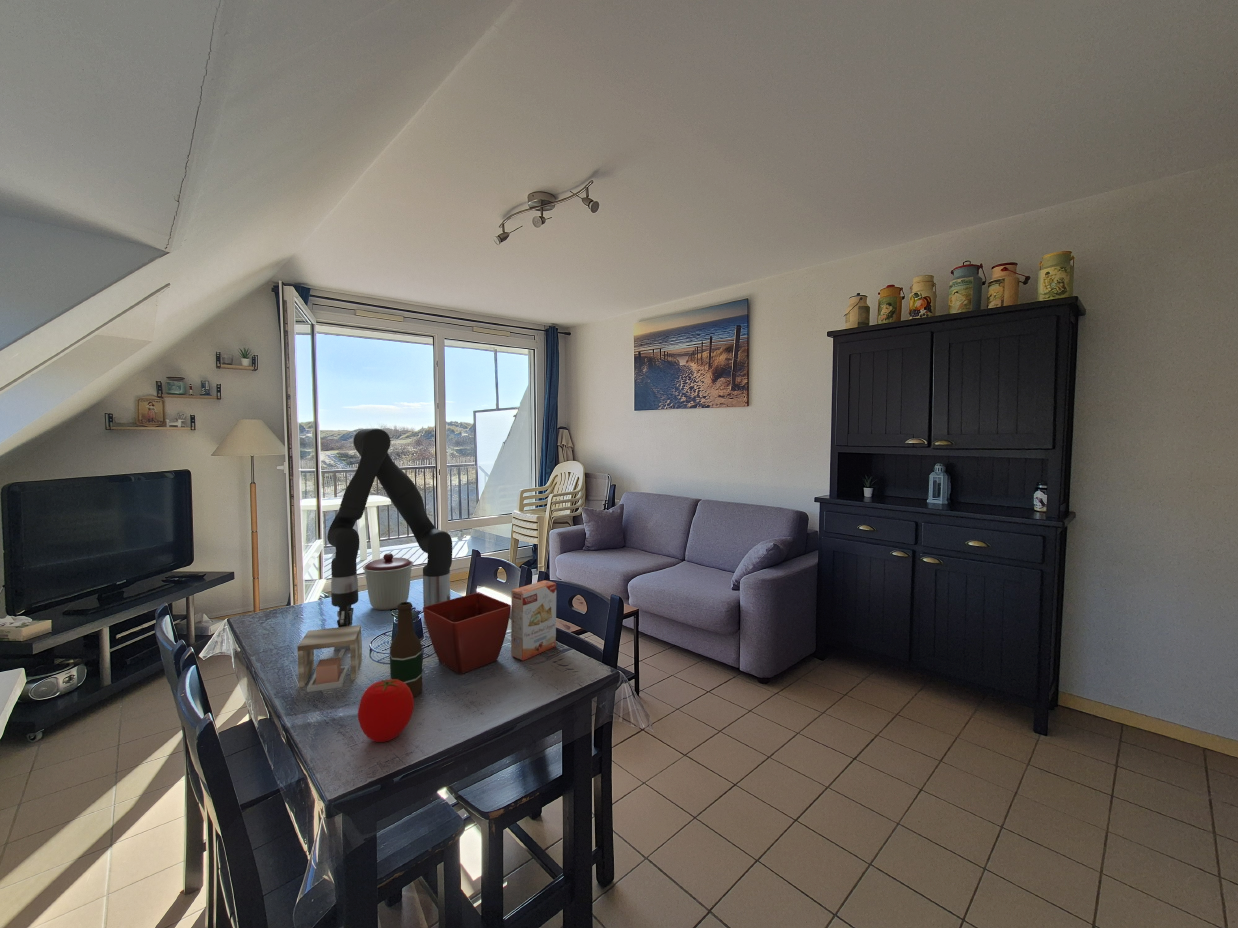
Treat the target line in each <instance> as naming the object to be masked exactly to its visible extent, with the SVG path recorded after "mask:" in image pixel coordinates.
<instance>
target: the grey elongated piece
mask: <svg viewBox="0 0 1238 928" xmlns="http://www.w3.org/2000/svg"><path fill="white" fill-rule="evenodd" d="M333 650H334V651H340V652H339V654H338V656H337V657H341V659H342V658H343V656H344V653H345V651H346V650H350V645H348V646H339V647H333ZM349 671H350V666H349V665H345V666H344V665H343V666H341V677H340V679H339V681H338V682H332V683H325V684H318V685H316V671H314V673H313V675H312V677H311V679H310V681H309V683H308V685H307V686H306V693H310V692H312V693H313V692H317V691H325V690H330V689H337V688H342V687H343V686H344V684H345V681H346V679H347V677H348V673H349Z"/></svg>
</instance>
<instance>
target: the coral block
mask: <svg viewBox="0 0 1238 928" xmlns="http://www.w3.org/2000/svg"><path fill="white" fill-rule="evenodd" d="M341 667H342V658H341V657H338V656H337V657H331V658H323V659H319V661H318V662H317V664H316V666H315V672H316V685H318V684H325V683H332V682H338V681H339V679H340V677H341Z"/></svg>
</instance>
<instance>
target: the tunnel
mask: <svg viewBox="0 0 1238 928" xmlns="http://www.w3.org/2000/svg"><path fill="white" fill-rule="evenodd" d="M362 643H363V642H362V625H361V624H355V625H351V626H346V627H338V626H337V627H329V628H319V629H313V630H307V632H306V633H305V635H304V637H302V639H301V640H300V642H299V643H298V645H297V646H296V647H297V671H298V673H297V674H298V675H297V676H298V688H302V687H303V688H304V687H305V686H306V684H307V682H308V680H309V679H310V677H311V675H312V673H313V671H314V669H315V650H322V649H331V648H334V647H339V646H348V645H350V649H349V653H350V654H349V655H350V659H349V661H350V680H355V679H357V677H358V674H359V672H360V668H361V666H362V663H363V647H362V646H363V644H362Z"/></svg>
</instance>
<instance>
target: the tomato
mask: <svg viewBox="0 0 1238 928" xmlns="http://www.w3.org/2000/svg"><path fill="white" fill-rule="evenodd" d="M414 700H415V699H414V697H413V695H412V692H411V690H410V688H409V687H408V686H407V685H406V684H405V683H404V682H402V681H400V680H397V679H390V678H389V679H385V680H384V679H381V680H380V681H376V682H374V683H373V684H371V685H369V686H368V687H367V688H366V689H365V690H364V692H363V694H362V696H361V699H360V701H359V702H360V703H359V706H358V710H357V719H358V723H359V726H360V728H361V731H362V732H363V733H364V734H365V736H366V737H367V738H368V739H370V740H371V741H373V742H377V743H384V742H389V741H391V740H393V739H395V738H396V737H397V736H398V735H400V734H401V733H402V732H403V731H404V729H405V728H406V727H407V726H408V724H409V722H410V719H411V718H412V716H413V712H414V707H415V706H414V705H415V704H414V703H415V702H414Z"/></svg>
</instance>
